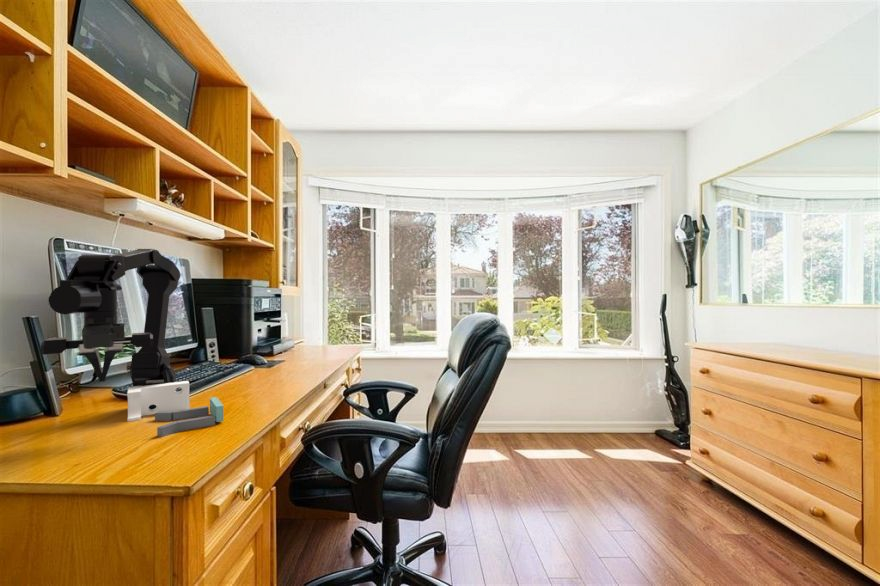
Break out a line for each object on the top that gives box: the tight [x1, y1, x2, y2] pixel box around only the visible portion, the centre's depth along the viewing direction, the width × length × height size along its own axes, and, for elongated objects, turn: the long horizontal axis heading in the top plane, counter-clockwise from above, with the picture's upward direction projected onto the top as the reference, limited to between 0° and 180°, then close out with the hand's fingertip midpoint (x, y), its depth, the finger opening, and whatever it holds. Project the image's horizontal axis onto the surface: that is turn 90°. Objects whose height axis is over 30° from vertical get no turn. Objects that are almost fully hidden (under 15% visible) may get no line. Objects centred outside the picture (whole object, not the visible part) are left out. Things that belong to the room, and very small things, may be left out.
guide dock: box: [154, 405, 216, 438], centre depth 96 cm, size 16×11×2 cm
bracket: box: [126, 380, 191, 422], centre depth 104 cm, size 13×7×8 cm
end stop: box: [209, 396, 224, 423], centre depth 100 cm, size 10×2×4 cm, turn 37°
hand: (102, 381), depth 90 cm, fingers closed
